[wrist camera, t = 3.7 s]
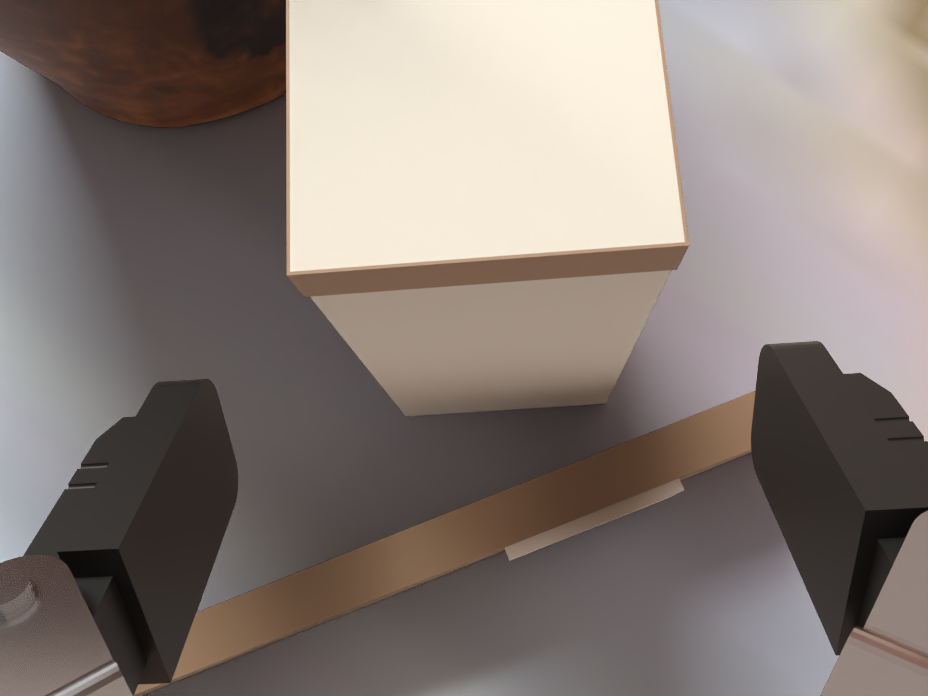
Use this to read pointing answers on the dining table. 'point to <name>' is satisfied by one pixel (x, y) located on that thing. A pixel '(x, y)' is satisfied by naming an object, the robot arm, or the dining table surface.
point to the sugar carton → (482, 191)
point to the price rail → (472, 535)
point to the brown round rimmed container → (153, 54)
